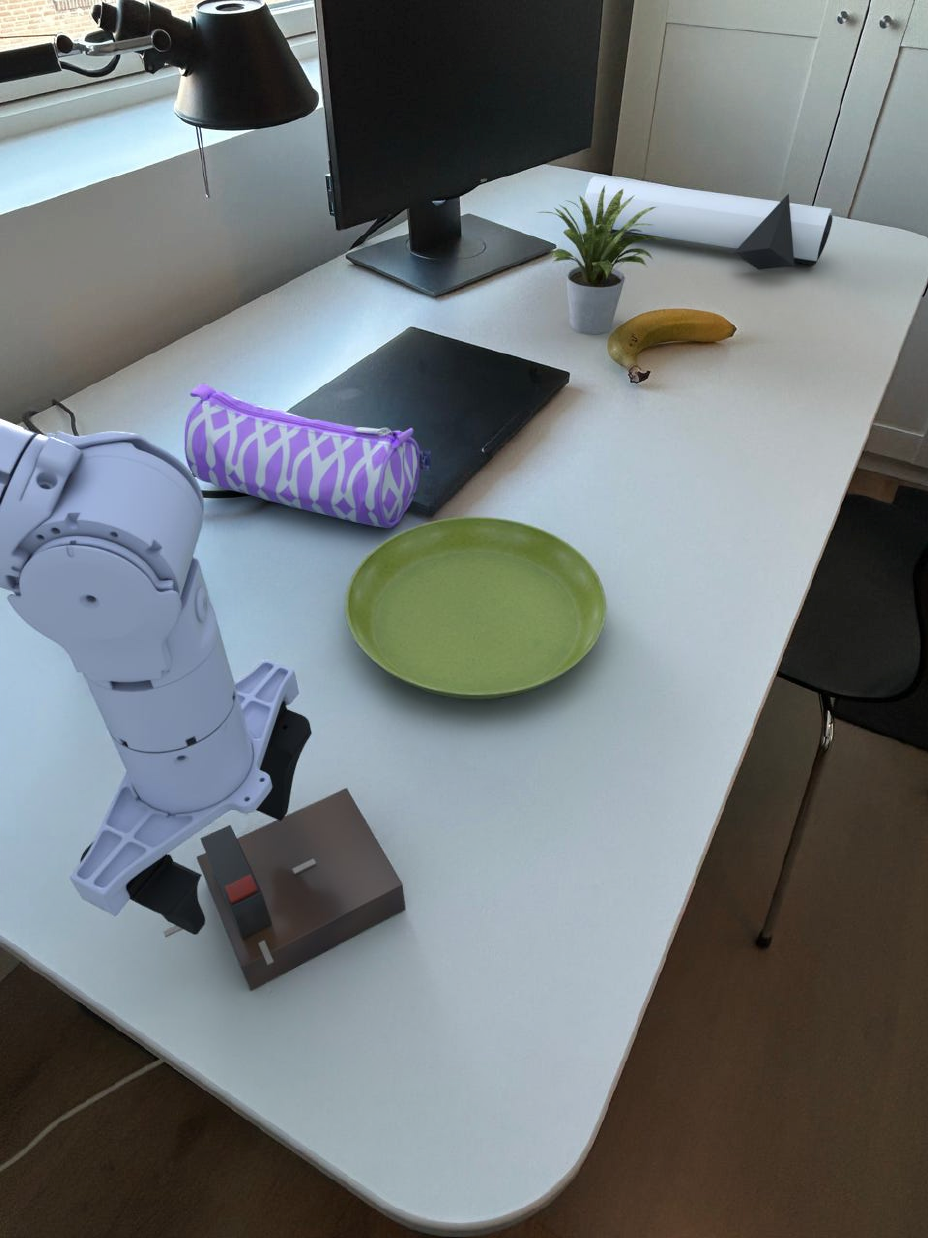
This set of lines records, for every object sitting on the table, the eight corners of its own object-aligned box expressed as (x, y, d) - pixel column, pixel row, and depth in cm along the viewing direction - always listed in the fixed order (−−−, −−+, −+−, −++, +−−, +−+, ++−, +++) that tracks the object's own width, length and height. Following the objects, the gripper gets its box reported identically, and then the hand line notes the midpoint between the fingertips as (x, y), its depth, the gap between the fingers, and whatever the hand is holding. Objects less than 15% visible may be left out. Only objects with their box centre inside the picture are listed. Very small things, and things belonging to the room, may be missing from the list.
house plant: (561, 364, 104) (572, 221, 92) (509, 317, 113) (513, 181, 102) (663, 340, 108) (685, 200, 97) (605, 296, 117) (619, 164, 106)
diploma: (583, 251, 137) (562, 219, 124) (599, 190, 135) (580, 151, 123) (814, 290, 126) (817, 259, 113) (835, 224, 124) (840, 184, 112)
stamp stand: (201, 1029, 49) (188, 1005, 47) (155, 897, 55) (141, 870, 52) (410, 917, 53) (407, 891, 51) (347, 807, 59) (342, 779, 57)
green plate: (312, 696, 66) (307, 667, 64) (390, 531, 81) (387, 502, 79) (585, 743, 63) (589, 714, 61) (615, 562, 77) (619, 533, 75)
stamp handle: (213, 871, 52) (198, 835, 50) (241, 857, 53) (229, 821, 50) (242, 940, 49) (229, 906, 47) (272, 924, 50) (261, 890, 47)
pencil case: (434, 493, 85) (431, 406, 79) (398, 550, 79) (391, 461, 72) (233, 453, 91) (214, 369, 84) (184, 504, 84) (160, 417, 78)
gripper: (130, 868, 33) (206, 1015, 43) (333, 627, 43) (359, 791, 52) (-6, 800, 36) (95, 954, 45) (216, 585, 45) (261, 750, 54)
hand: (230, 863), depth 49 cm, fingers open, 7 cm apart
